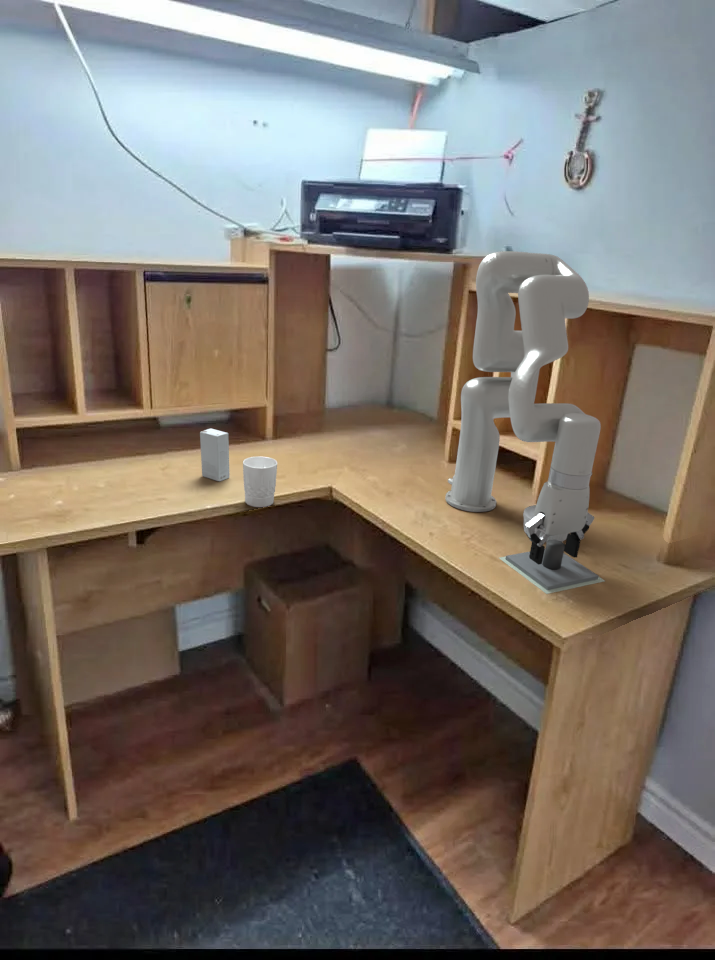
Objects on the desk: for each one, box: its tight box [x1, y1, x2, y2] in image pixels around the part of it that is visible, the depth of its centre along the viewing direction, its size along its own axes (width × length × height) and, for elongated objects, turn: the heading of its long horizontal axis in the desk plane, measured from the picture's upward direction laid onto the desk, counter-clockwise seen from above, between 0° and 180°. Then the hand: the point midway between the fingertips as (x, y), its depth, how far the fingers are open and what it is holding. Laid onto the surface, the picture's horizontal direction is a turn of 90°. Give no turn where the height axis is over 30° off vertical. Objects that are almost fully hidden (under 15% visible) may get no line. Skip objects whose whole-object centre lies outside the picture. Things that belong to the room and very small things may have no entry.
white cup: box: [242, 456, 278, 508], centre depth 156 cm, size 8×8×10 cm
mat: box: [498, 555, 606, 595], centre depth 135 cm, size 15×15×1 cm
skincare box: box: [199, 428, 231, 482], centre depth 168 cm, size 6×4×12 cm
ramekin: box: [522, 504, 570, 543], centre depth 151 cm, size 11×11×5 cm
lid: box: [505, 540, 600, 590], centre depth 134 cm, size 13×13×6 cm
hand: (553, 557), depth 134 cm, fingers open, 8 cm apart
